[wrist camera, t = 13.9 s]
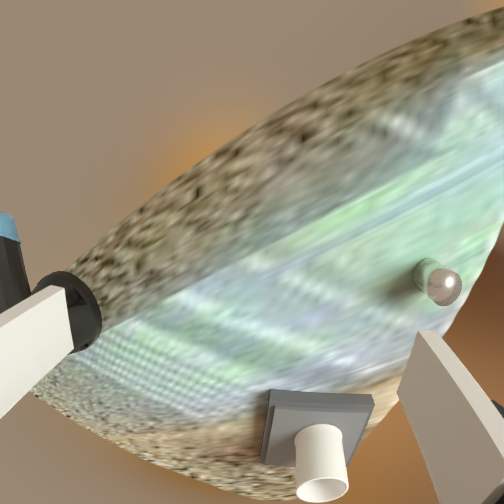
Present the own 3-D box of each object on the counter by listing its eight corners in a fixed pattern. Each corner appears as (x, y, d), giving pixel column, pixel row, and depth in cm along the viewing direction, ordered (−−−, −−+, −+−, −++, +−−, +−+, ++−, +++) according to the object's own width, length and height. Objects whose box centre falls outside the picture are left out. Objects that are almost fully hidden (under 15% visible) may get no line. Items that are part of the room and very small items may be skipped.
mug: (319, 466, 50) (322, 514, 39) (279, 457, 50) (276, 506, 39) (351, 428, 47) (361, 480, 36) (307, 418, 47) (310, 472, 36)
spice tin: (410, 287, 44) (427, 305, 38) (417, 256, 43) (436, 269, 36) (437, 289, 44) (456, 306, 37) (443, 259, 43) (465, 272, 36)
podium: (260, 452, 55) (258, 466, 52) (270, 388, 51) (269, 403, 47) (346, 456, 54) (348, 470, 50) (371, 394, 50) (375, 408, 46)
